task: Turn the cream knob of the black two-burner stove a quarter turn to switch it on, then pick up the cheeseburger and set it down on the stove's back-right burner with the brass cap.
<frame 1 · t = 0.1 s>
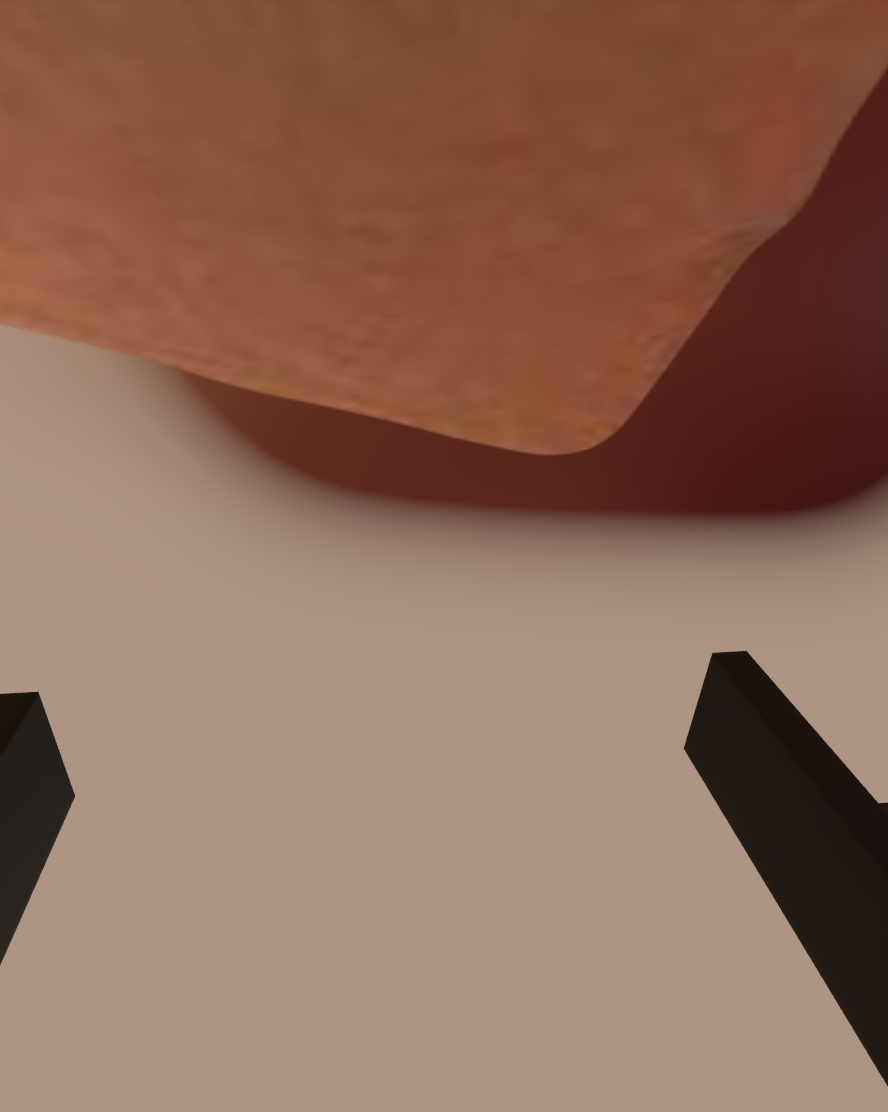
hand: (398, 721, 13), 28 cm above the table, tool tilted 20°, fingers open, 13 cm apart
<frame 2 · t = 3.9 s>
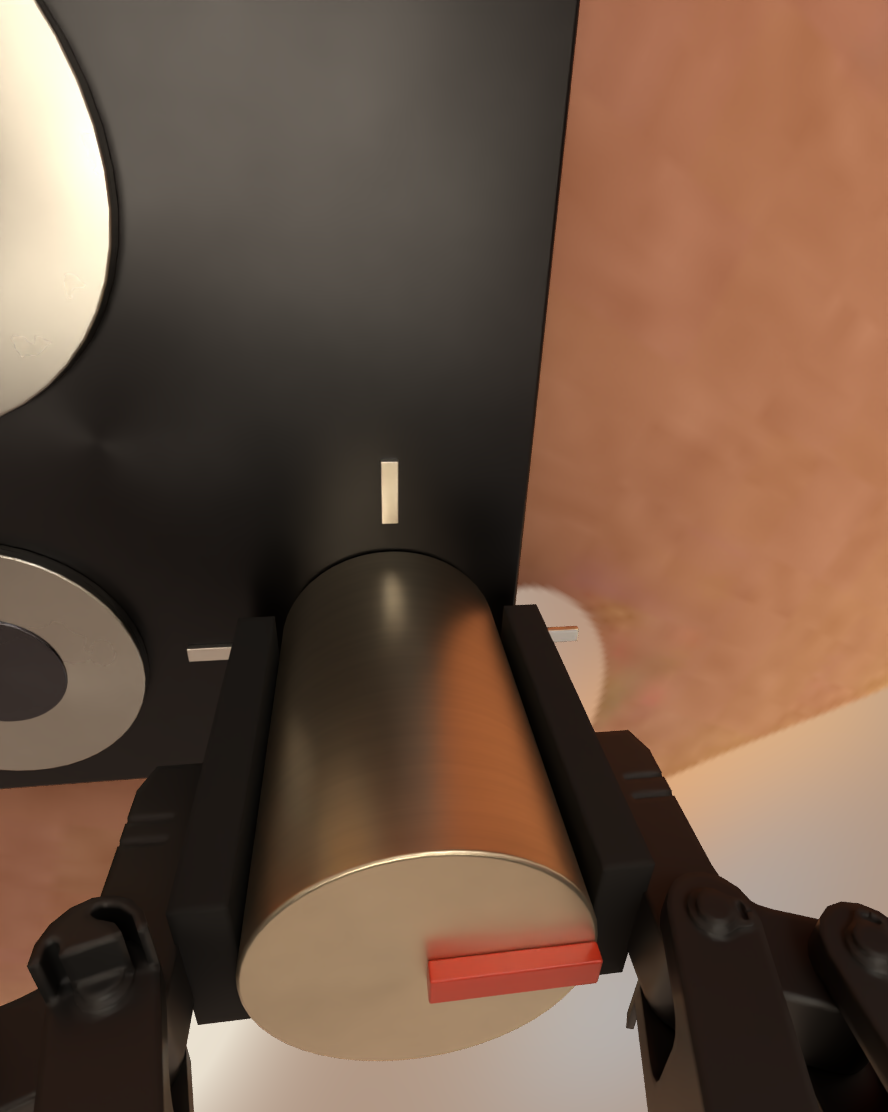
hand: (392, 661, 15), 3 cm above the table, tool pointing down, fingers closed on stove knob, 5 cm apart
stove: (134, 404, 14), on the table
stove knob: (403, 769, 12), point 6 cm above the table, hinge at 0.0°, touching gripper
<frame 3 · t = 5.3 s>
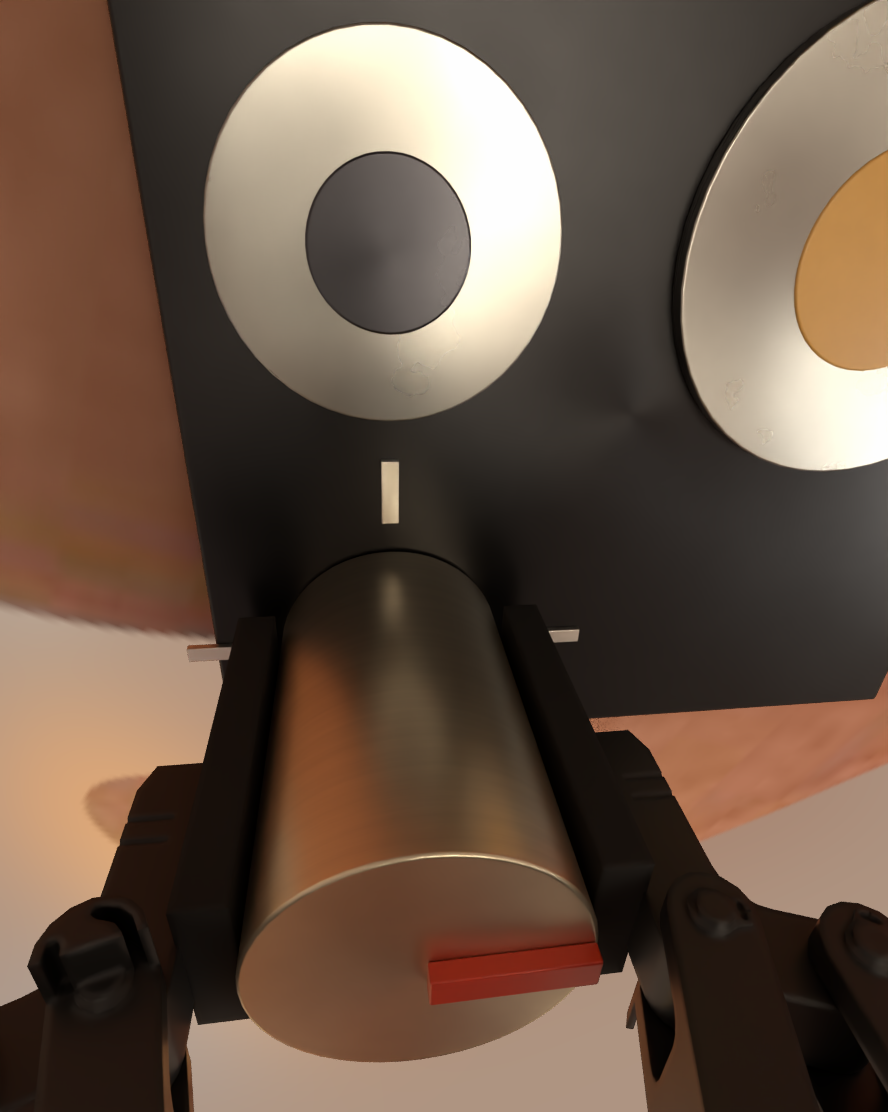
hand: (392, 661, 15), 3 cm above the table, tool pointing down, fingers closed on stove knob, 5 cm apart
burners: (684, 256, 12), on the stove, point 3 cm above the table
stove: (592, 382, 16), on the table
stove knob: (403, 769, 12), point 6 cm above the table, hinge at 90.3°, touching gripper
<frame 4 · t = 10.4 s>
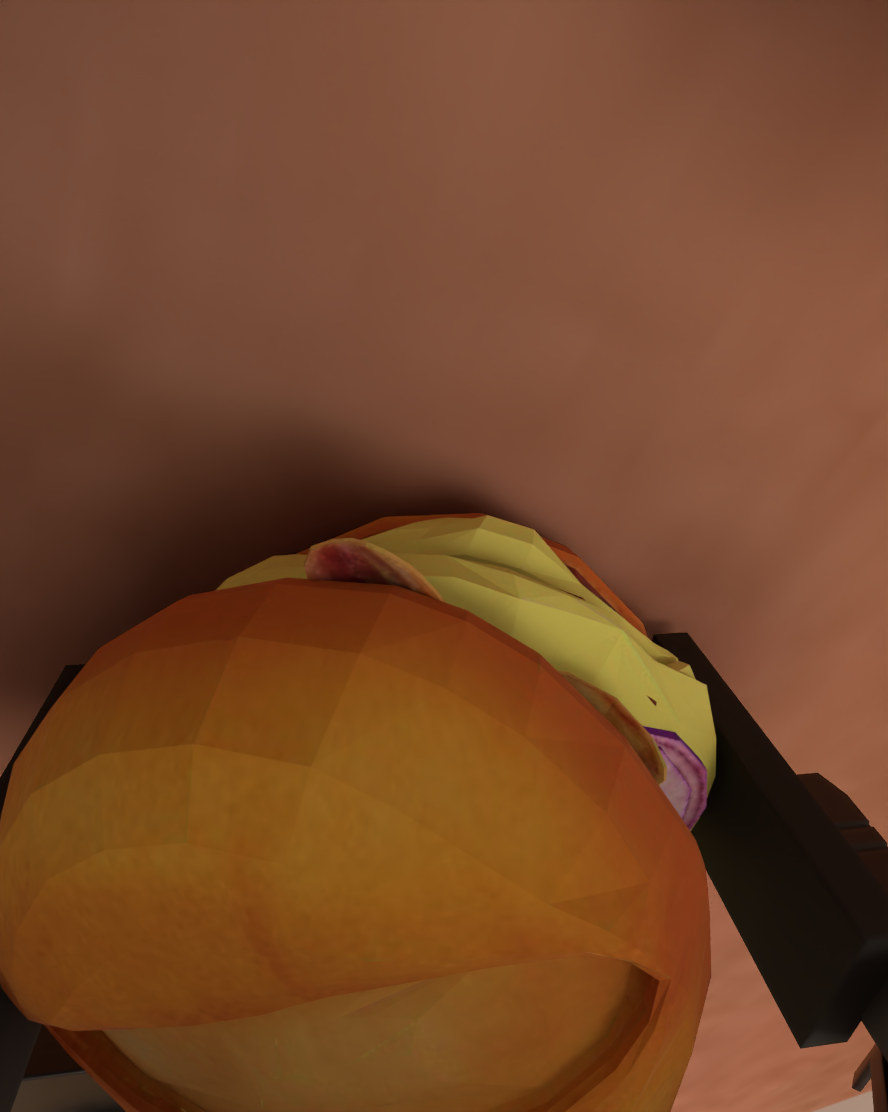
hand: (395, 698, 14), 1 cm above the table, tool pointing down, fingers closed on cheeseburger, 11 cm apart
stove: (309, 1085, 23), on the table
cheeseburger: (393, 674, 14), on the table, touching gripper
when the fingers open (3 cm above the table, at t = 16.7 s): cheeseburger stays where it is, resting on burners.
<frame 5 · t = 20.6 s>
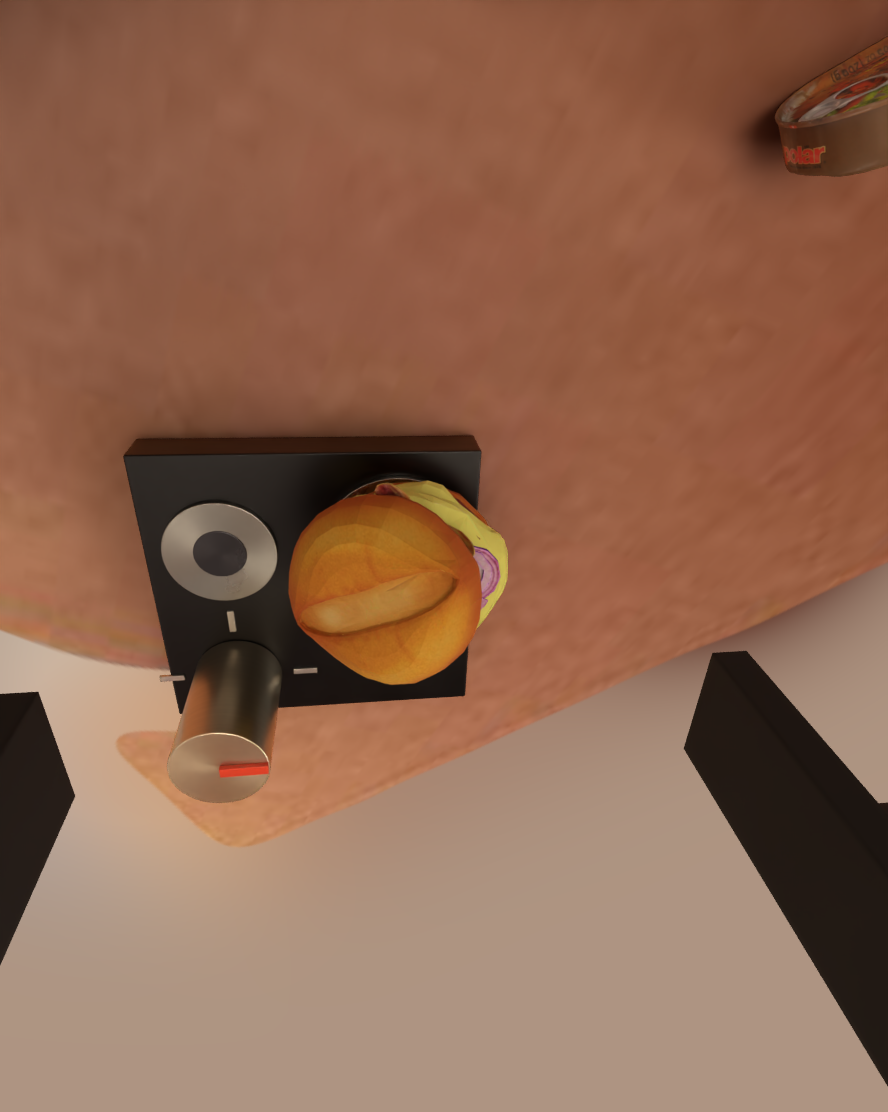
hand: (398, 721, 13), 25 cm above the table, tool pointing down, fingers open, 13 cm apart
burners: (321, 549, 36), on the stove, point 3 cm above the table
stove: (319, 571, 39), on the table
cheeseburger: (397, 547, 36), point 3 cm above the table, touching burners
stove knob: (230, 719, 36), point 6 cm above the table, hinge at 90.3°
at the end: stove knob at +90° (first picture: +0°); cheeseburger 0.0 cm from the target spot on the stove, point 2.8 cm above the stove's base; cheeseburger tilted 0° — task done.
